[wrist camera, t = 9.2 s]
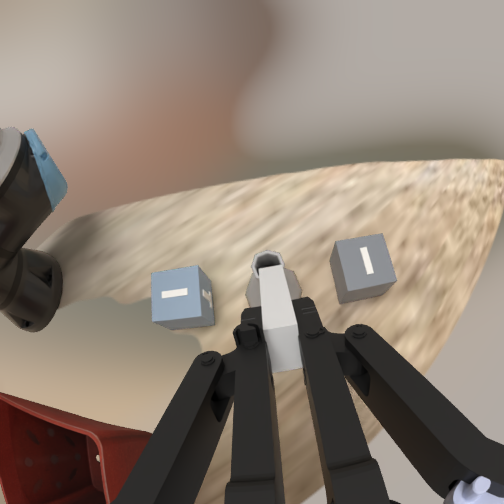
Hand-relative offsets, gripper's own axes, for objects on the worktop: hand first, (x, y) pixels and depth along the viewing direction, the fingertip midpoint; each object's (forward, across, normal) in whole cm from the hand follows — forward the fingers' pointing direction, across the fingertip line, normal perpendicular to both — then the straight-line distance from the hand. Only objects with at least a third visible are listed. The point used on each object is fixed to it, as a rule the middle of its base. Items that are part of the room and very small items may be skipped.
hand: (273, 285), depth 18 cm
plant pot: (0, -25, -26) cm, 36 cm away
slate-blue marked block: (+16, -11, -9) cm, 22 cm away
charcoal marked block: (+16, +11, -9) cm, 21 cm away
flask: (+16, 0, -10) cm, 19 cm away
